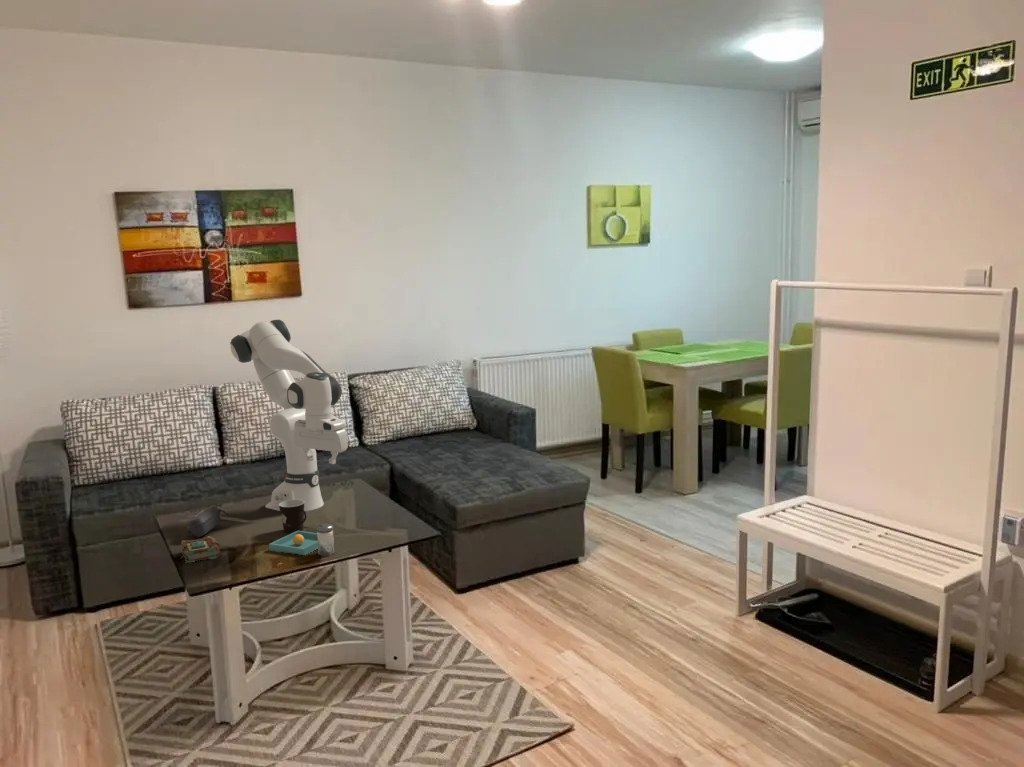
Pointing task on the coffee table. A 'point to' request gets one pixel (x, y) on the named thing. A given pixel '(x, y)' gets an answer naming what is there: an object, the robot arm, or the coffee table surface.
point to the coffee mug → (292, 515)
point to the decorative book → (200, 549)
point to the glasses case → (204, 521)
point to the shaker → (325, 539)
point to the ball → (298, 539)
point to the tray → (290, 547)
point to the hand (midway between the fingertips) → (321, 462)
